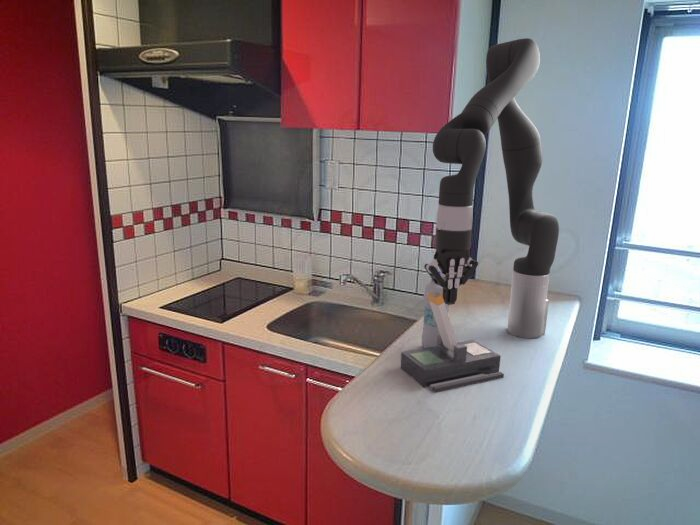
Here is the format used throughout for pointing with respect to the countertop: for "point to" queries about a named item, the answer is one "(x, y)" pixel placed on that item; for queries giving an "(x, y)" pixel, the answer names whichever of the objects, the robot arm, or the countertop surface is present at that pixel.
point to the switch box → (449, 362)
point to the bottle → (430, 317)
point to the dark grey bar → (465, 381)
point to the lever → (442, 319)
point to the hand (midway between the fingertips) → (449, 303)
